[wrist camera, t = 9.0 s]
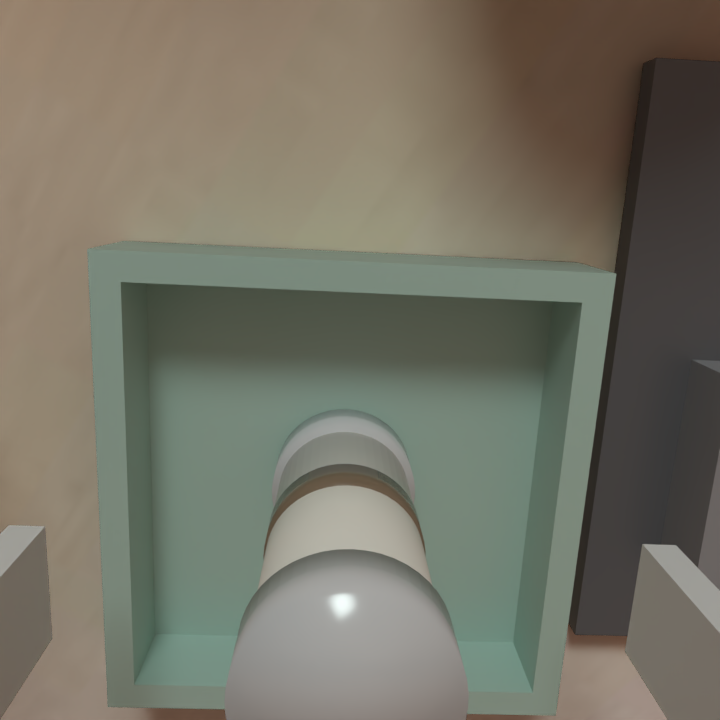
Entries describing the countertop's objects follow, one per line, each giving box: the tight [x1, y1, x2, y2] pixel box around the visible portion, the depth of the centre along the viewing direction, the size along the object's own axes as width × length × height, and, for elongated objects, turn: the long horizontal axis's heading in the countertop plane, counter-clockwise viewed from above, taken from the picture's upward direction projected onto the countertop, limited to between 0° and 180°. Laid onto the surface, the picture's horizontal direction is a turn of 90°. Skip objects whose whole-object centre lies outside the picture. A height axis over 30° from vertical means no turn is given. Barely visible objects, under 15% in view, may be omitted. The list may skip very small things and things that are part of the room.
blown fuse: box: [224, 409, 469, 720], centre depth 17 cm, size 4×4×10 cm
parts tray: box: [87, 241, 616, 716], centre depth 21 cm, size 14×14×3 cm
